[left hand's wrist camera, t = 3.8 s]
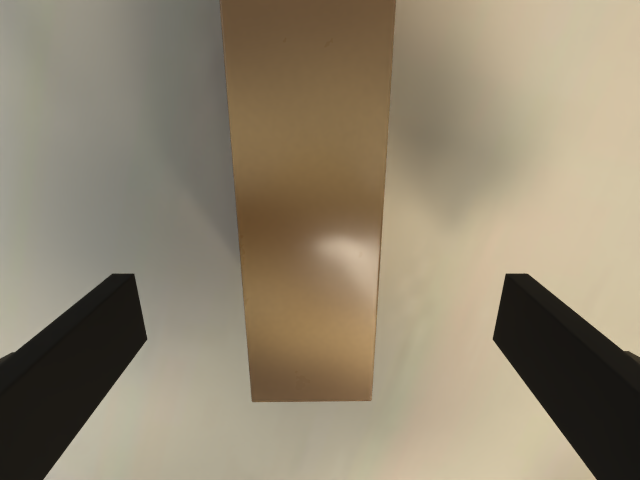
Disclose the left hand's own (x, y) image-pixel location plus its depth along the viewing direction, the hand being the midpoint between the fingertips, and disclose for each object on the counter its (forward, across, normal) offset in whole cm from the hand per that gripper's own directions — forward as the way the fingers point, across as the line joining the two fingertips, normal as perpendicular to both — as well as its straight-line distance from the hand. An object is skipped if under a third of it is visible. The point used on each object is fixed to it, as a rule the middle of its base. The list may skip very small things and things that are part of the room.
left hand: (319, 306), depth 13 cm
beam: (+8, 0, -23) cm, 24 cm away
